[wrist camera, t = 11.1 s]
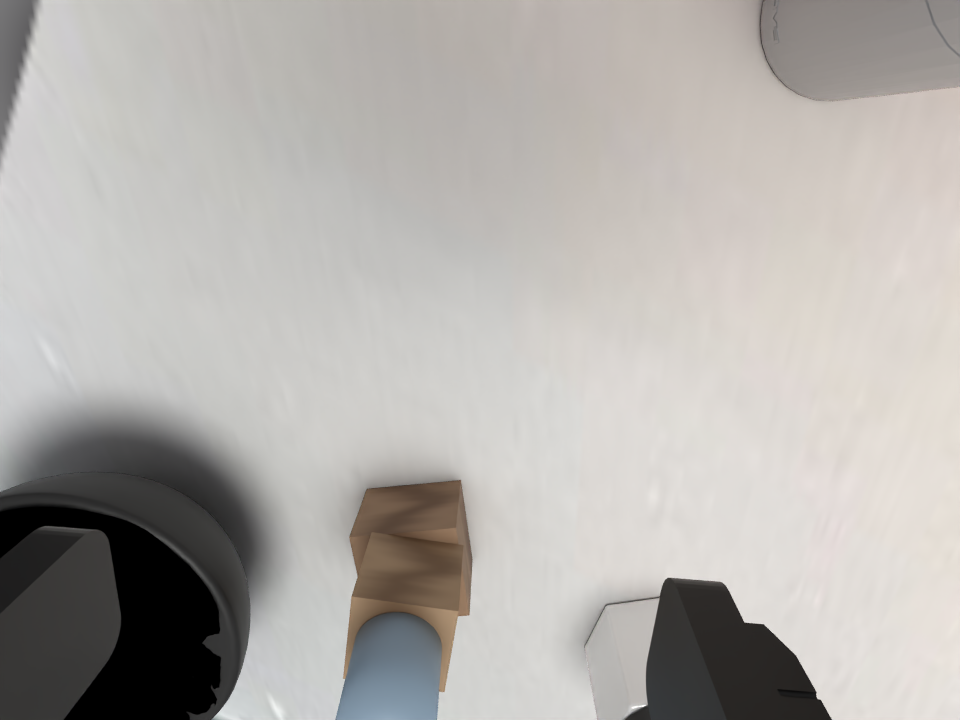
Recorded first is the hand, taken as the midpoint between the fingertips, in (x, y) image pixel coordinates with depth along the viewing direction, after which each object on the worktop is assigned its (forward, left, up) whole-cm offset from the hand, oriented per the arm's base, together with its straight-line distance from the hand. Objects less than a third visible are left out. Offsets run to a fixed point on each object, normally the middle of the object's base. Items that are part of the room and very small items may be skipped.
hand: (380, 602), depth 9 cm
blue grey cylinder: (+2, +21, -21) cm, 30 cm away
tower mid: (+2, +21, -27) cm, 34 cm away
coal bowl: (+22, +24, -33) cm, 46 cm away
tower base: (+2, +21, -33) cm, 39 cm away
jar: (-16, +30, -33) cm, 47 cm away
